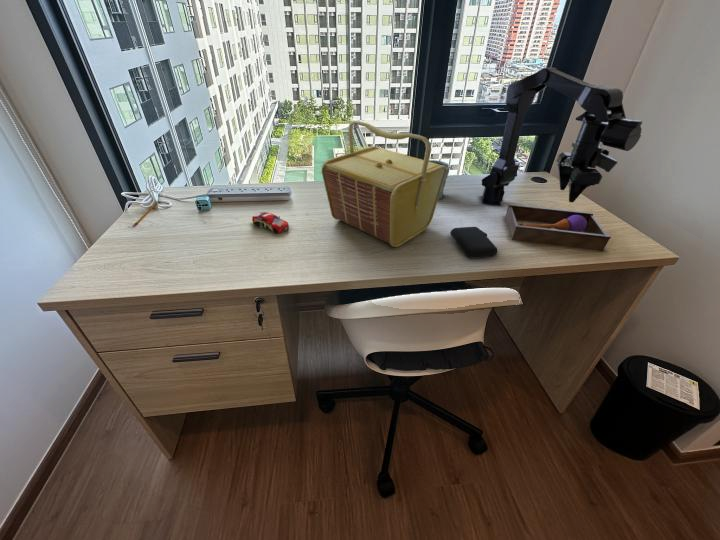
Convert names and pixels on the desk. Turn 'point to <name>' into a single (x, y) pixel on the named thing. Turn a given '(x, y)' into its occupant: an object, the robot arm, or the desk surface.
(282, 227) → the race car
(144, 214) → the pencil
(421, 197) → the picnic basket
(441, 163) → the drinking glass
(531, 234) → the wooden tray
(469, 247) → the carrying case
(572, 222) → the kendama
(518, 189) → the desk surface
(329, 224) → the desk surface
